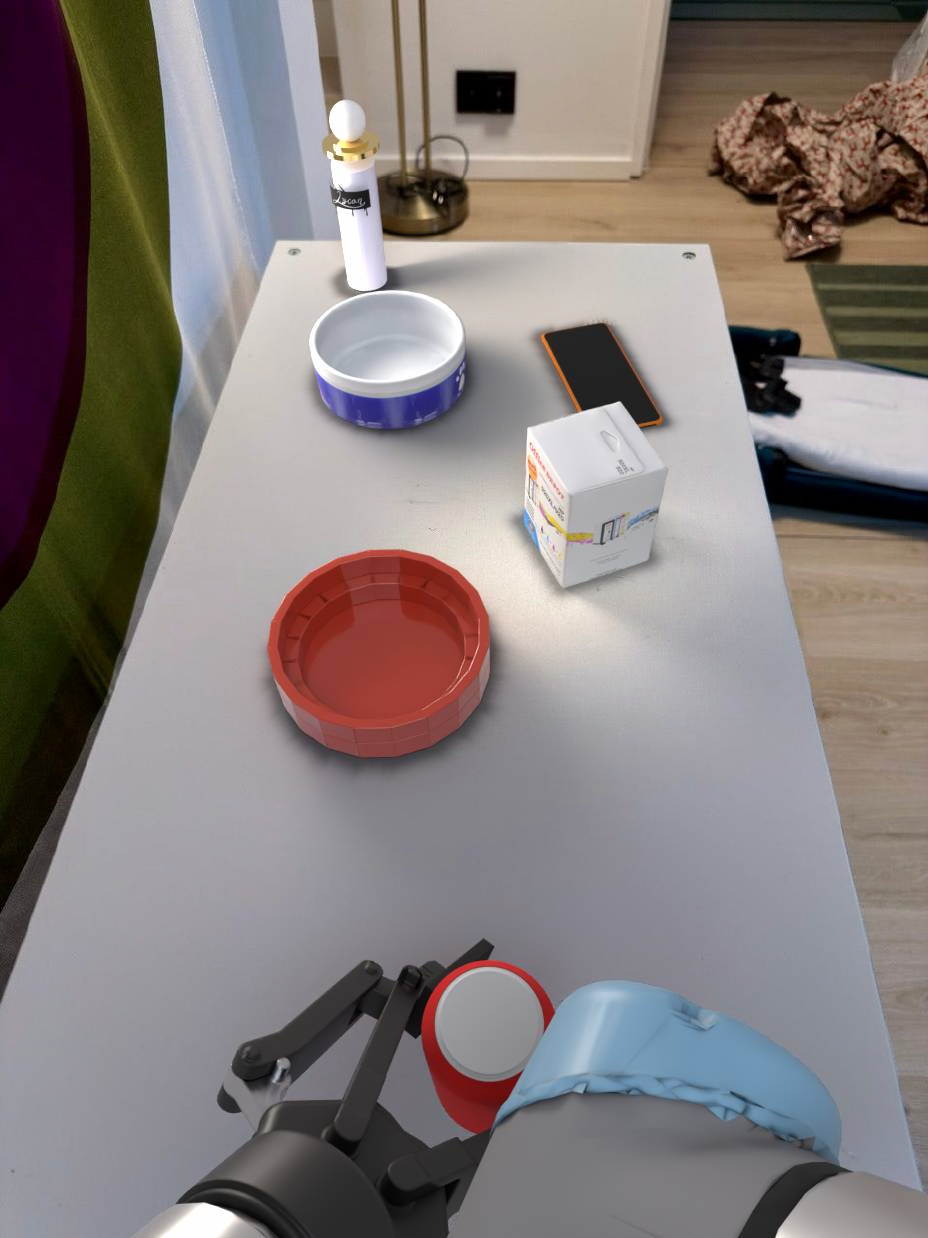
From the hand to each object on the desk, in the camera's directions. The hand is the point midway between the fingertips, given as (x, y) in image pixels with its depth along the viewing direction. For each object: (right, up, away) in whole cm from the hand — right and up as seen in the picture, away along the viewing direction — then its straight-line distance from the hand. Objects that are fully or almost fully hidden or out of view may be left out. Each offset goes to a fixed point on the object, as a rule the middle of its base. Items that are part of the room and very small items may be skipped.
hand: (530, 1001), depth 48 cm
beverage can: (-2, -5, +1) cm, 5 cm away
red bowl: (-10, +16, +24) cm, 31 cm away
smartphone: (+10, +45, +44) cm, 64 cm away
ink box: (+7, +27, +31) cm, 42 cm away
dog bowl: (-11, +45, +45) cm, 64 cm away
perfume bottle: (-15, +59, +56) cm, 82 cm away
